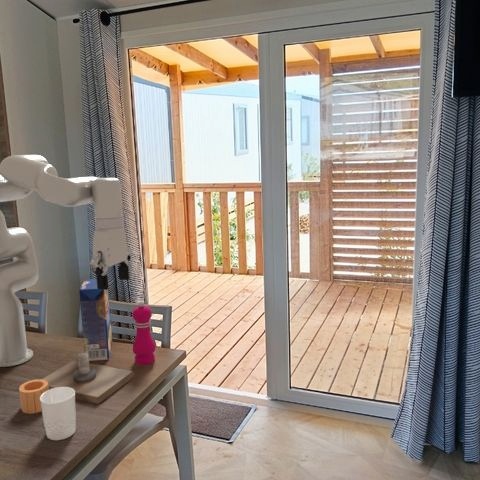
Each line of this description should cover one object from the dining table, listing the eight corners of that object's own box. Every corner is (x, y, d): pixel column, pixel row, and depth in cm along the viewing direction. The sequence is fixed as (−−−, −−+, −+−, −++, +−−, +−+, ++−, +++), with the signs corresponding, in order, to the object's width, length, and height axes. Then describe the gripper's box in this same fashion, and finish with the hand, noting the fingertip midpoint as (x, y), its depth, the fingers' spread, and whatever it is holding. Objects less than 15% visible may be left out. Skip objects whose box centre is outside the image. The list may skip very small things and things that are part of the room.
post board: (35, 389, 139) (32, 360, 138) (74, 366, 154) (71, 339, 152) (98, 403, 131) (95, 372, 129) (132, 377, 146) (131, 349, 144)
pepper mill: (151, 366, 152) (147, 305, 149) (129, 365, 154) (125, 304, 150) (159, 356, 159) (156, 298, 155) (138, 355, 161) (135, 297, 157)
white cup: (49, 424, 122) (45, 387, 120) (81, 422, 123) (78, 385, 121) (39, 443, 114) (35, 404, 112) (73, 441, 115) (70, 402, 113)
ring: (15, 410, 129) (13, 389, 127) (35, 397, 135) (33, 377, 134) (36, 415, 126) (33, 394, 125) (55, 402, 132) (53, 382, 131)
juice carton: (109, 359, 158) (103, 288, 154) (85, 361, 157) (79, 289, 152) (112, 344, 170) (107, 278, 165) (90, 346, 169) (84, 279, 164)
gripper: (116, 218, 142) (120, 275, 145) (76, 228, 126) (82, 291, 129) (138, 219, 139) (142, 277, 142) (100, 229, 123) (105, 294, 127)
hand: (113, 284), depth 136 cm, fingers open, 9 cm apart
